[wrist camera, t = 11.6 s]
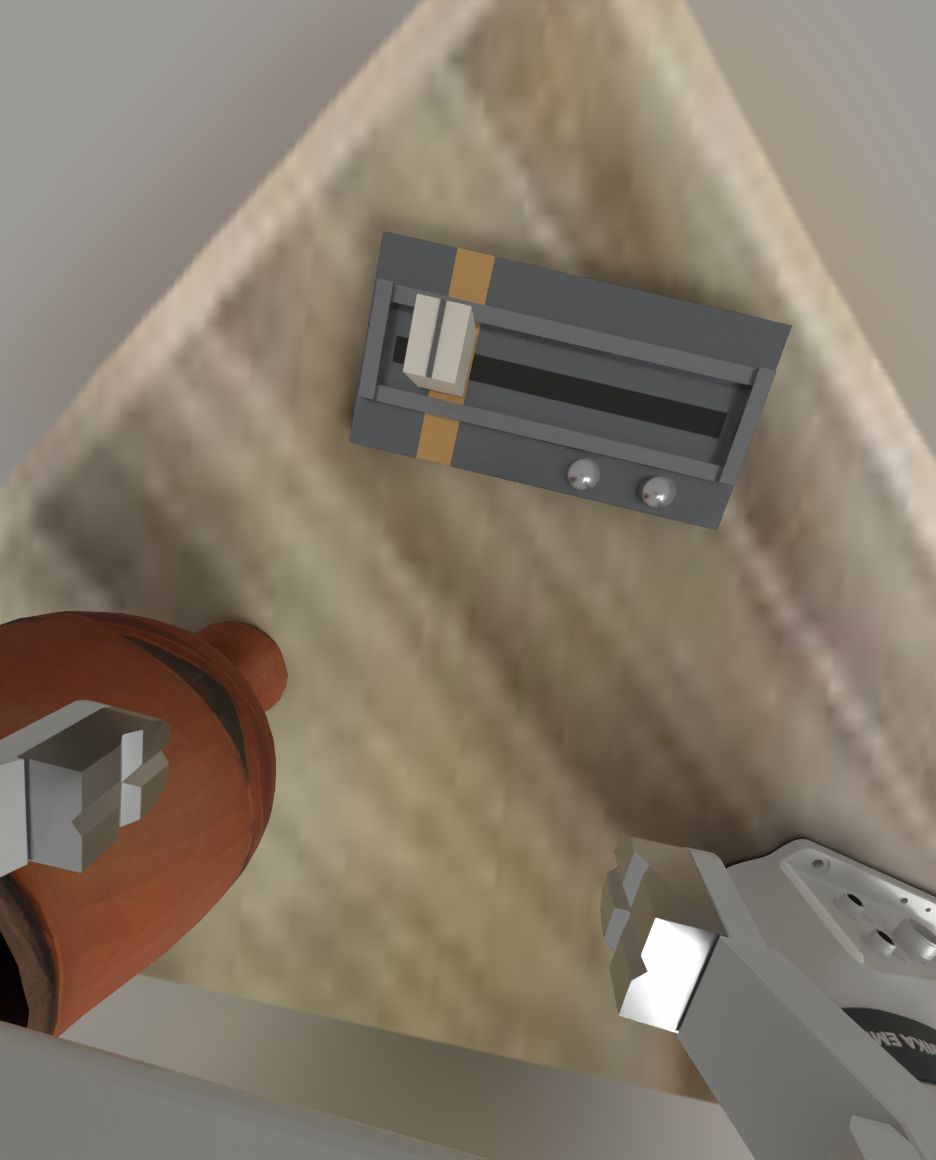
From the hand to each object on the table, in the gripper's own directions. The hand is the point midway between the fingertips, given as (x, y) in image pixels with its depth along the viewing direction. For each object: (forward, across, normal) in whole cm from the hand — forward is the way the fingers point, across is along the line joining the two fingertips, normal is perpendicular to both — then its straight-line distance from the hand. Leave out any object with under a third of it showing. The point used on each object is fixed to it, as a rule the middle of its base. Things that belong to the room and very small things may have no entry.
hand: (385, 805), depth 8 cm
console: (+29, -2, -12) cm, 31 cm away
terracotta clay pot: (+28, +18, +15) cm, 37 cm away
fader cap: (+26, +5, -12) cm, 29 cm away
